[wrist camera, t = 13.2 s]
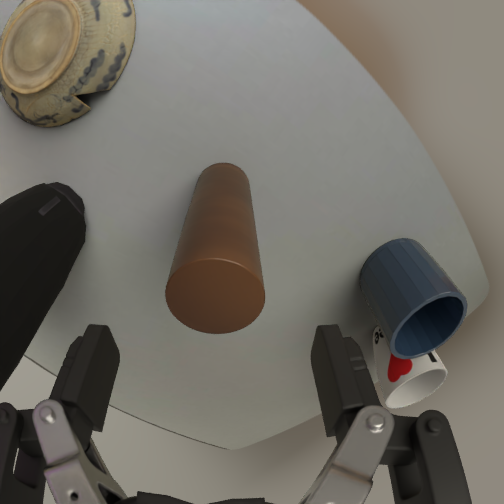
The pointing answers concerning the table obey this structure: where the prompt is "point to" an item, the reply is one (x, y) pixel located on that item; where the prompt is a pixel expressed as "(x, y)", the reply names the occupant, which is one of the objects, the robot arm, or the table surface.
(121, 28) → the decorative bowl
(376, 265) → the crock
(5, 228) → the portable speaker
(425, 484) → the robot arm
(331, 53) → the table surface
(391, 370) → the cup
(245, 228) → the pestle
